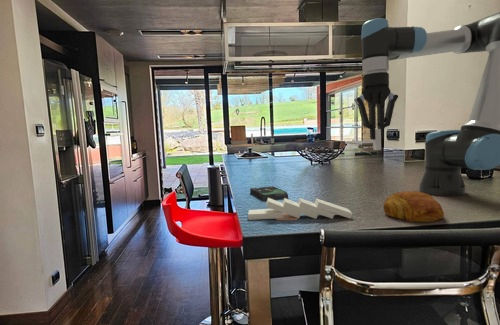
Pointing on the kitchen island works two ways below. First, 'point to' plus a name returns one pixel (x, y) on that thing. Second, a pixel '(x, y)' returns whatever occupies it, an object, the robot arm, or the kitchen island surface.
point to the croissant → (413, 207)
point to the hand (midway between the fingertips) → (377, 149)
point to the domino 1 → (264, 214)
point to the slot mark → (287, 217)
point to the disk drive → (268, 193)
